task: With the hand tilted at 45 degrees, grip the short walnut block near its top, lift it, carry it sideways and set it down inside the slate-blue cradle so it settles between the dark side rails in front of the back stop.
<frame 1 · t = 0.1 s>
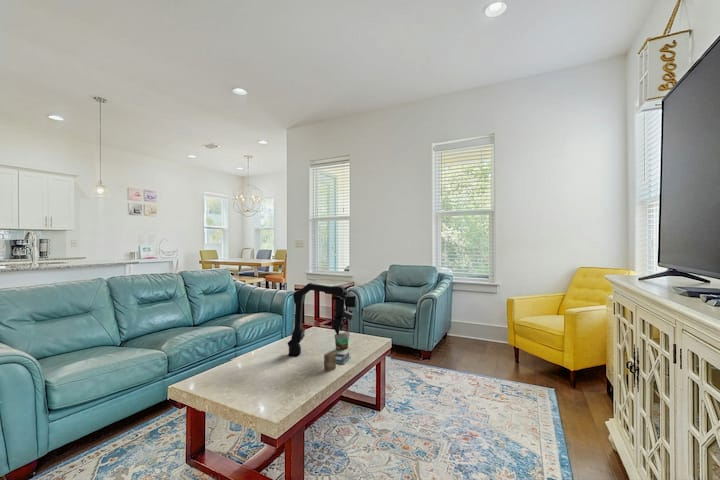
hand: (339, 332, 199), 15 cm above the table, tool pointing down, fingers open, 9 cm apart
cradle: (338, 360, 194), on the table
walnut block: (329, 369, 180), on the table
food container: (344, 348, 215), on the table
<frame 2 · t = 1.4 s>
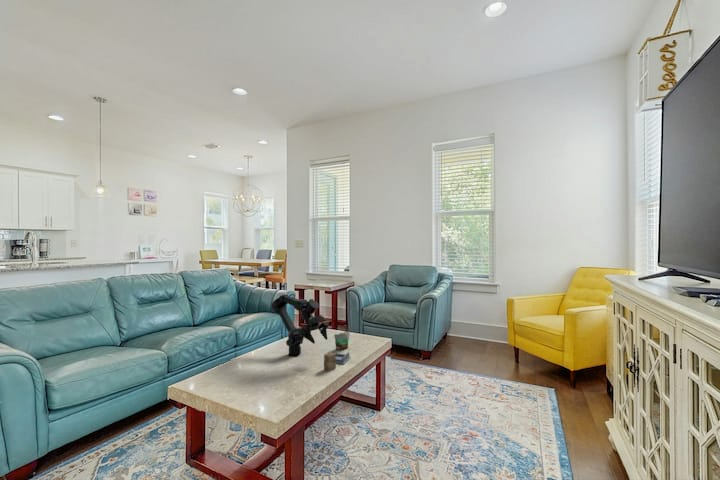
hand: (320, 341, 186), 13 cm above the table, tool tilted 45°, fingers open, 9 cm apart
nothing on the table moved.
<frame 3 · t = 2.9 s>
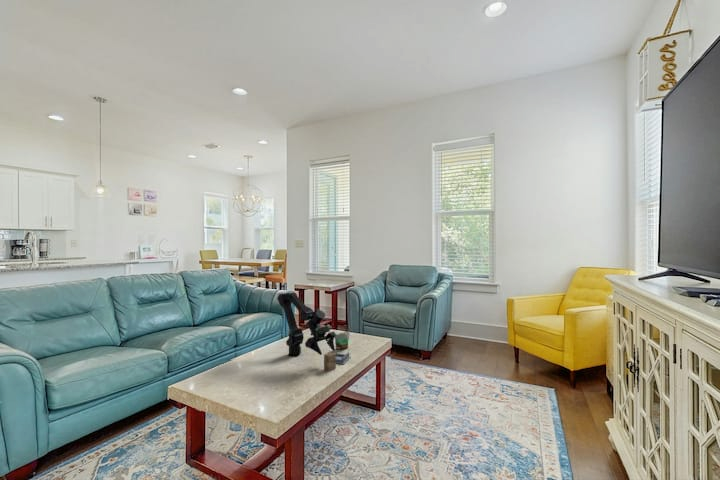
hand: (327, 352, 182), 9 cm above the table, tool tilted 45°, fingers open, 9 cm apart
nothing on the table moved.
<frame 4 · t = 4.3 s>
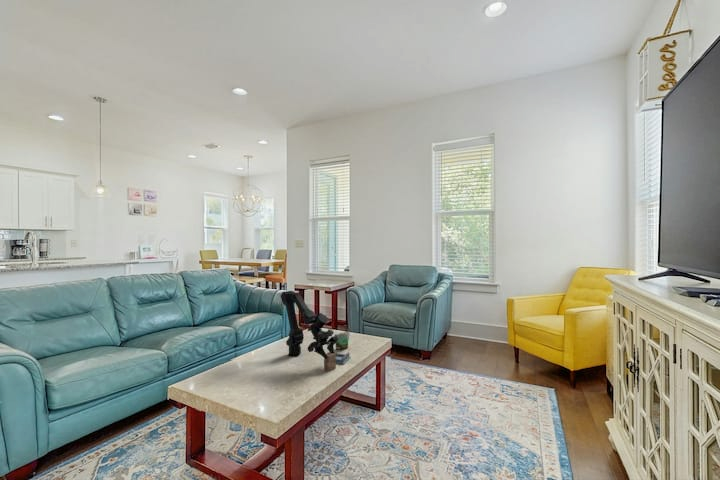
hand: (330, 357, 180), 7 cm above the table, tool tilted 45°, fingers closed on walnut block, 5 cm apart
walnut block: (329, 369, 180), on the table, touching gripper
everything else where it was.
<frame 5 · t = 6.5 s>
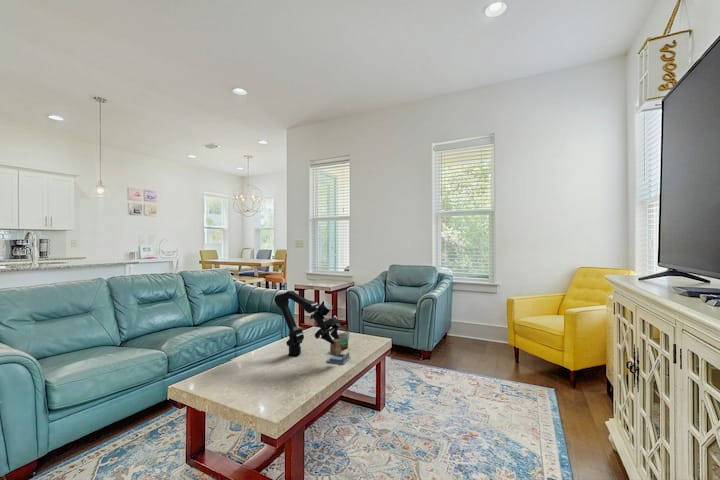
hand: (336, 342, 187), 12 cm above the table, tool tilted 45°, fingers closed on walnut block, 5 cm apart
walnut block: (335, 354, 187), point 6 cm above the table, touching gripper
everything else where it was.
when the fingers open (8 cm above the table, at t = 8.7 s): walnut block stays where it is, resting on cradle.
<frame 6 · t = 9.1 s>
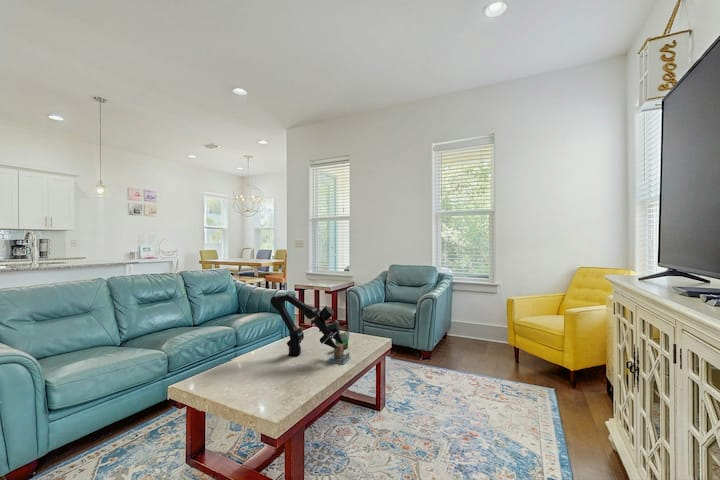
hand: (339, 345, 194), 8 cm above the table, tool tilted 45°, fingers open, 9 cm apart
walnut block: (338, 358, 194), point 1 cm above the table, touching cradle
everything else where it was.
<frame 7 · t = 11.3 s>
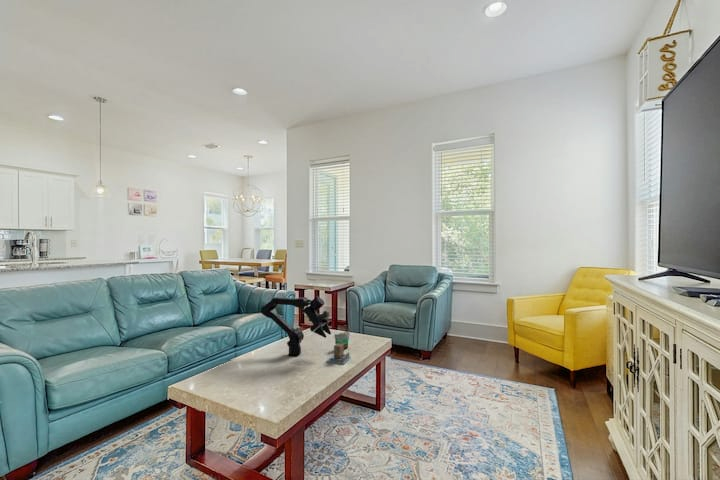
hand: (328, 335, 197), 13 cm above the table, tool tilted 40°, fingers open, 9 cm apart
nothing on the table moved.
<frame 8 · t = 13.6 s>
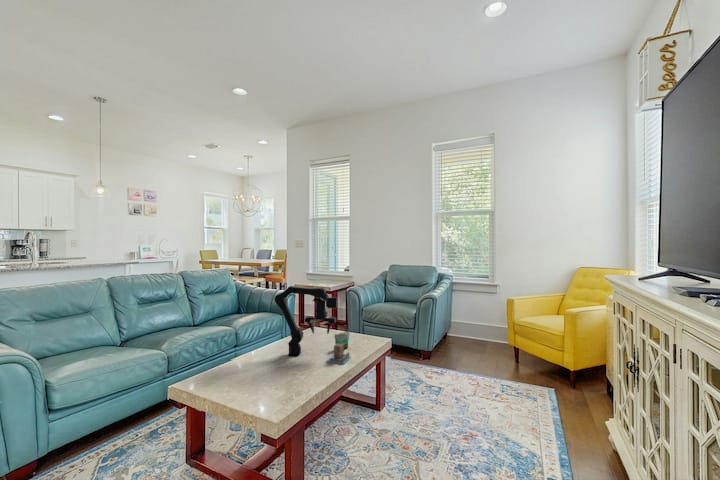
hand: (320, 333, 203), 13 cm above the table, tool pointing down, fingers open, 9 cm apart
nothing on the table moved.
at the end: walnut block 0.1 cm off-centre on the cradle, point 0.8 cm above the cradle's base; walnut block tilted 0°; the gripper is holding nothing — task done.
